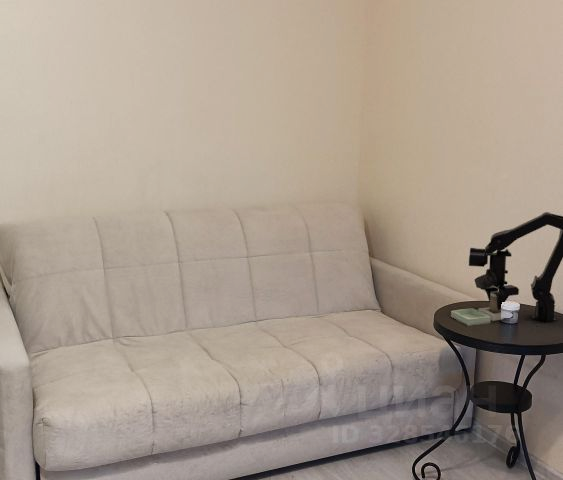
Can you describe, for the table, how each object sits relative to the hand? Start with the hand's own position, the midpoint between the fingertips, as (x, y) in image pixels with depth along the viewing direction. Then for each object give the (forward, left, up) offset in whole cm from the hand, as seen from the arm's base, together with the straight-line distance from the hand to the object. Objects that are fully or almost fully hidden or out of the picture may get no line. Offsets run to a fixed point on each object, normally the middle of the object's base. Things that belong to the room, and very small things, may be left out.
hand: (495, 308), depth 255 cm
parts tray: (-1, +11, -3) cm, 12 cm away
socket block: (0, 0, -3) cm, 3 cm away
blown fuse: (0, 0, -3) cm, 3 cm away
